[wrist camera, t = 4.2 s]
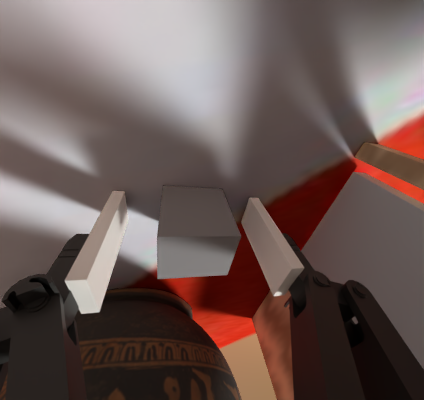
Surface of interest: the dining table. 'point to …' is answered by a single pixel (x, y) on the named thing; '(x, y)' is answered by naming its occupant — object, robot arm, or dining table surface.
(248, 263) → the dining table surface
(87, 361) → the vase
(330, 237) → the door
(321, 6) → the dining table surface
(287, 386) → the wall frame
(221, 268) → the grey short block
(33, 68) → the dining table surface
